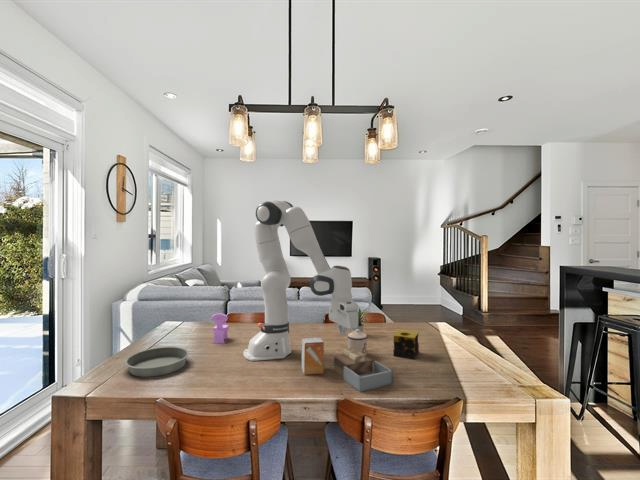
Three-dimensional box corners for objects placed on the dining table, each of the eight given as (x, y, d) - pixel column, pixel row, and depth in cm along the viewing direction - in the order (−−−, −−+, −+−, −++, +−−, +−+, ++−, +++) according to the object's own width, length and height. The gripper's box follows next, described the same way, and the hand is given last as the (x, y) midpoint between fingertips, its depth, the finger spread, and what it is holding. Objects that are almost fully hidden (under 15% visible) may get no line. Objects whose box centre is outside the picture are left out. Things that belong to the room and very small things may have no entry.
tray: (359, 392, 122) (359, 378, 122) (343, 379, 132) (343, 366, 132) (393, 384, 128) (393, 371, 128) (375, 372, 139) (375, 360, 139)
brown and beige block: (346, 378, 133) (346, 364, 133) (334, 369, 142) (334, 356, 142) (372, 373, 138) (372, 360, 138) (358, 364, 148) (358, 351, 147)
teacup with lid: (366, 358, 155) (366, 333, 155) (346, 357, 156) (346, 331, 156) (367, 349, 167) (367, 326, 166) (348, 348, 168) (349, 325, 168)
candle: (419, 352, 163) (419, 332, 163) (415, 360, 154) (415, 337, 153) (397, 349, 167) (397, 329, 167) (392, 356, 158) (393, 335, 158)
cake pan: (128, 360, 151) (128, 350, 151) (187, 353, 161) (187, 343, 161) (120, 383, 129) (120, 371, 129) (190, 373, 139) (190, 362, 138)
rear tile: (348, 358, 139) (348, 352, 139) (342, 355, 143) (342, 349, 143) (357, 357, 141) (357, 351, 141) (352, 353, 145) (352, 347, 145)
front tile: (354, 363, 135) (354, 356, 135) (348, 359, 139) (349, 353, 139) (364, 361, 137) (364, 355, 137) (358, 357, 141) (358, 351, 141)
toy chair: (230, 338, 184) (230, 310, 184) (226, 343, 175) (226, 314, 175) (214, 338, 184) (214, 310, 184) (210, 343, 175) (210, 314, 175)
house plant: (376, 334, 191) (376, 305, 191) (366, 341, 179) (366, 310, 179) (353, 330, 199) (354, 302, 198) (342, 336, 187) (342, 307, 187)
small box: (304, 375, 136) (304, 342, 136) (301, 369, 142) (301, 338, 142) (323, 373, 138) (324, 341, 138) (320, 367, 144) (320, 336, 144)
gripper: (324, 300, 156) (325, 330, 157) (347, 308, 138) (348, 342, 138) (336, 298, 159) (337, 328, 159) (360, 306, 141) (361, 339, 141)
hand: (342, 334), depth 149 cm, fingers closed
